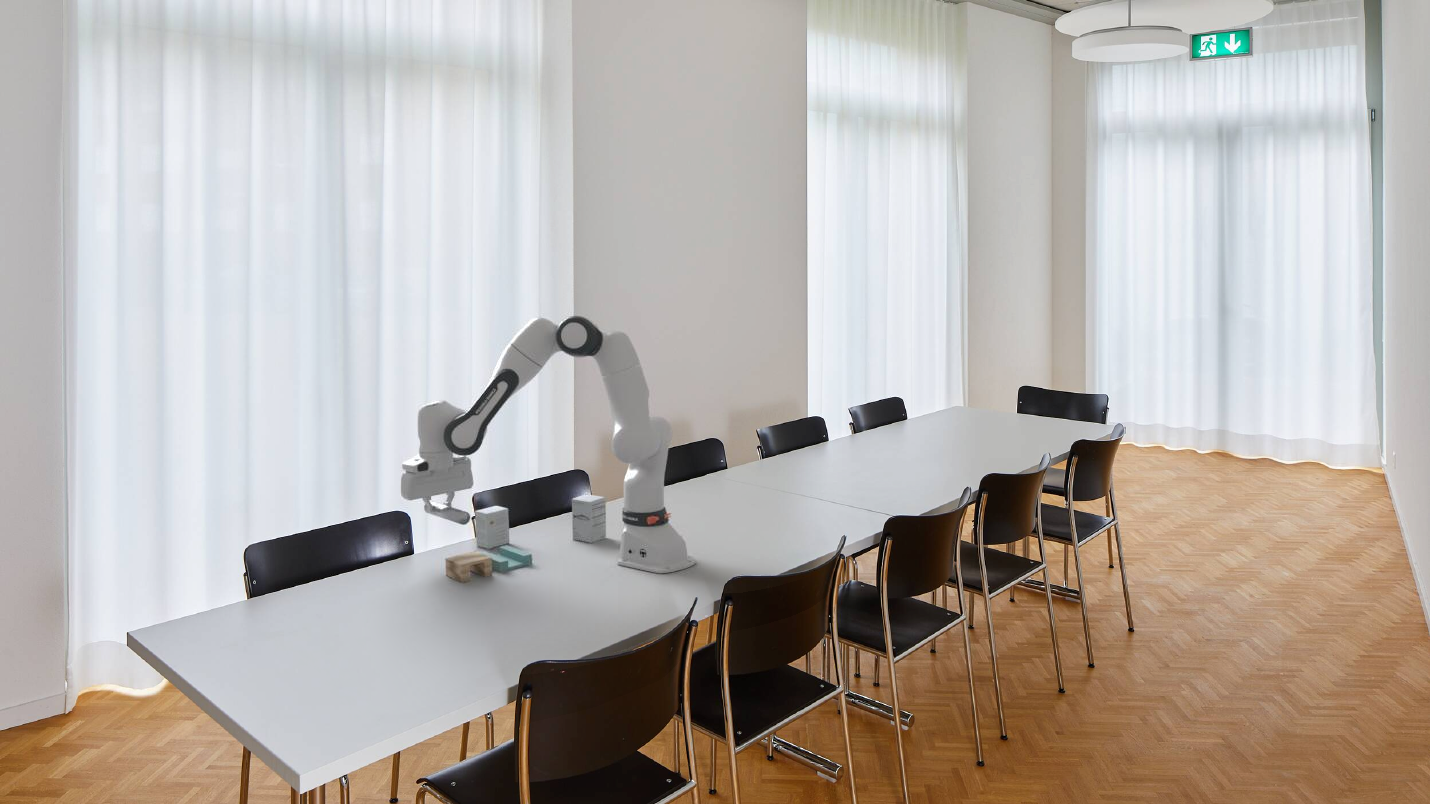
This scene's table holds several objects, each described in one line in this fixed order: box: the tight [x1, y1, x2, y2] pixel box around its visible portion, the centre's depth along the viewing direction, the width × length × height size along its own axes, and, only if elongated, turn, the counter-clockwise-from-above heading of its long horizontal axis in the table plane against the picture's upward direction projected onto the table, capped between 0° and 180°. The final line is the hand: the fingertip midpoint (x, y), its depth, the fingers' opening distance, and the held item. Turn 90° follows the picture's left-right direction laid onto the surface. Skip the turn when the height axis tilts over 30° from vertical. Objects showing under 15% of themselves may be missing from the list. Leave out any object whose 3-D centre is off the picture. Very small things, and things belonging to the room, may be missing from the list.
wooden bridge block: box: [445, 551, 493, 583], centre depth 253 cm, size 8×9×5 cm
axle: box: [423, 500, 471, 526], centre depth 261 cm, size 18×4×4 cm, turn 46°
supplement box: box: [571, 493, 607, 544], centre depth 285 cm, size 7×7×13 cm
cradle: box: [478, 544, 533, 573], centre depth 263 cm, size 12×10×3 cm
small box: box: [474, 505, 511, 550], centre depth 281 cm, size 8×6×10 cm
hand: (439, 510), depth 264 cm, fingers closed on axle, 3 cm apart
